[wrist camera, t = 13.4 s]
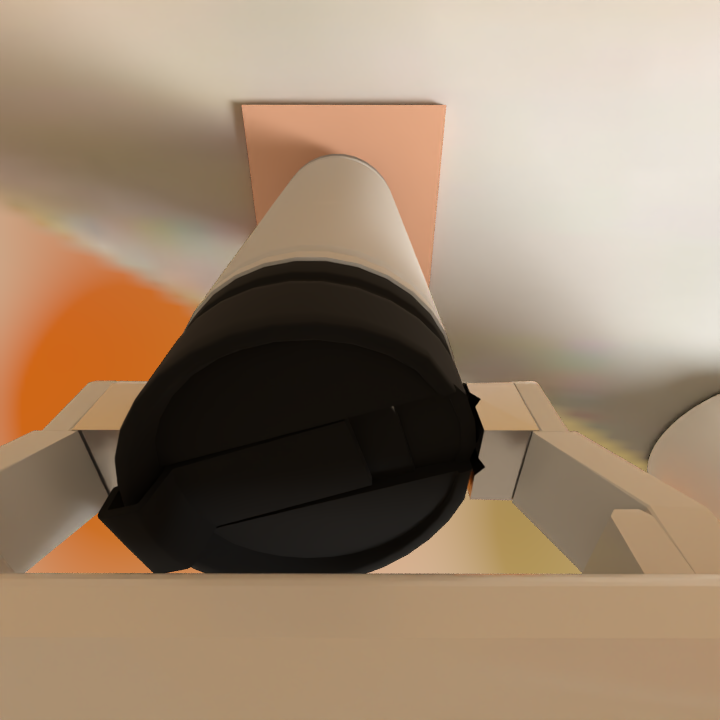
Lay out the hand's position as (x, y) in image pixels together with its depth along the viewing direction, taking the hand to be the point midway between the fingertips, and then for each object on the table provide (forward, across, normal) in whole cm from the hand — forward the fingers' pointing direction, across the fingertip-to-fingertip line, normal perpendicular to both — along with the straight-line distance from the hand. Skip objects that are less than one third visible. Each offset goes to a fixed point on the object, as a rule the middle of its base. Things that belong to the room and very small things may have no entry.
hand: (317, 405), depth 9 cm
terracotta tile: (+20, 0, 0) cm, 20 cm away
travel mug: (+17, 0, 0) cm, 17 cm away
